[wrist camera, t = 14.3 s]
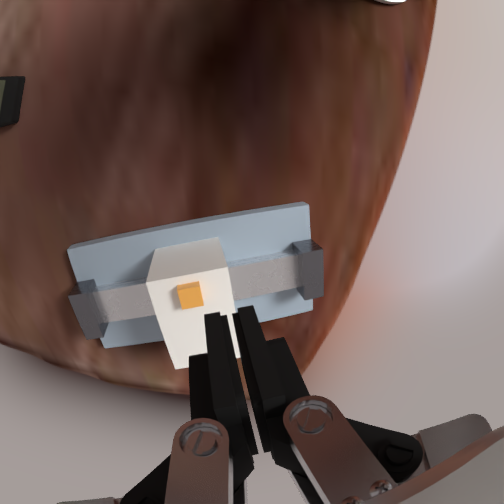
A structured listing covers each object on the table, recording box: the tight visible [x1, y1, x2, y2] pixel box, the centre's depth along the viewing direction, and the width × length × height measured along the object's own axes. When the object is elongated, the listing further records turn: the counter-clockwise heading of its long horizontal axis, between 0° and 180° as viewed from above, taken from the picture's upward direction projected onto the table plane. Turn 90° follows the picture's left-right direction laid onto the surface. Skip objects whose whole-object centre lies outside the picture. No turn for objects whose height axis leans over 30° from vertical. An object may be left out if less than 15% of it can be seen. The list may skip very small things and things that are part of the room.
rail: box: [68, 239, 324, 340], centre depth 27 cm, size 24×5×3 cm, turn 97°
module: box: [146, 237, 240, 369], centre depth 25 cm, size 6×8×8 cm
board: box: [67, 202, 313, 348], centre depth 29 cm, size 24×12×2 cm, turn 97°
